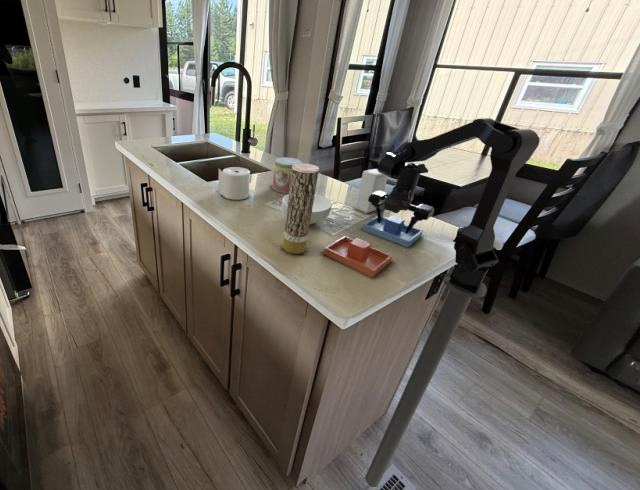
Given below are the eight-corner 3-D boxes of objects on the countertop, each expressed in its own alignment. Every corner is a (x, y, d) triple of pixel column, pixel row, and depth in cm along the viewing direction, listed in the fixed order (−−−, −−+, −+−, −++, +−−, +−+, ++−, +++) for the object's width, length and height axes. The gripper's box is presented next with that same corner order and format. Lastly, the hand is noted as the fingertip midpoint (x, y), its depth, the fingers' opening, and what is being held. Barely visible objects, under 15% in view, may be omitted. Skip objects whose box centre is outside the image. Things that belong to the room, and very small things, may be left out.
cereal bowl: (286, 206, 124) (288, 188, 121) (330, 214, 120) (334, 196, 116) (275, 225, 110) (277, 205, 107) (325, 234, 106) (329, 215, 102)
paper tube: (291, 240, 101) (302, 161, 89) (309, 249, 97) (323, 167, 85) (277, 248, 97) (287, 166, 85) (296, 257, 93) (309, 172, 81)
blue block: (401, 231, 108) (405, 220, 106) (395, 236, 106) (399, 223, 103) (388, 227, 111) (391, 215, 109) (382, 231, 108) (386, 219, 106)
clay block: (368, 256, 94) (371, 243, 92) (360, 262, 91) (364, 248, 89) (354, 250, 96) (357, 237, 94) (346, 255, 94) (349, 242, 91)
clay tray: (390, 262, 93) (392, 255, 92) (372, 277, 86) (374, 270, 85) (343, 241, 102) (344, 235, 101) (323, 253, 95) (324, 247, 94)
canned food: (267, 188, 140) (270, 161, 134) (279, 181, 148) (281, 155, 142) (291, 195, 135) (295, 166, 129) (302, 187, 143) (306, 160, 137)
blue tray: (421, 236, 107) (423, 230, 106) (407, 247, 100) (409, 241, 99) (377, 220, 117) (378, 215, 116) (362, 229, 110) (363, 224, 109)
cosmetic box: (367, 213, 121) (376, 175, 114) (353, 208, 125) (362, 170, 118) (380, 209, 126) (390, 171, 118) (366, 203, 130) (376, 167, 123)
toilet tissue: (250, 199, 128) (252, 175, 123) (220, 200, 127) (220, 175, 122) (246, 190, 137) (247, 166, 133) (218, 190, 136) (218, 167, 131)
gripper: (365, 180, 101) (354, 225, 108) (428, 198, 89) (412, 247, 97) (381, 173, 108) (370, 216, 115) (442, 189, 96) (425, 235, 104)
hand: (392, 228), depth 108 cm, fingers open, 9 cm apart
